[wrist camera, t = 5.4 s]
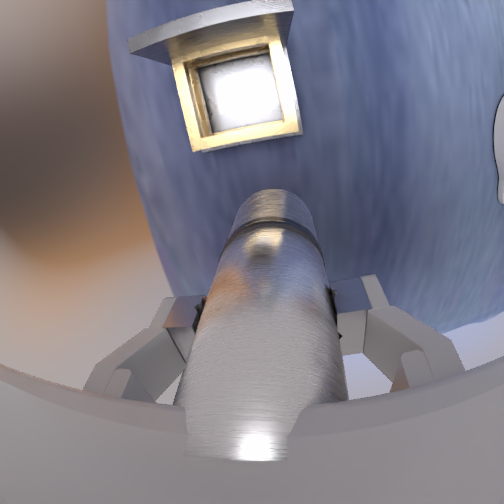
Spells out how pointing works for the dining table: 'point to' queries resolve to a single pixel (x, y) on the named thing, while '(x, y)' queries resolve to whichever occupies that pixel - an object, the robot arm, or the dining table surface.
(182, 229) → the dining table surface
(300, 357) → the metal cylinder
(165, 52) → the stand
